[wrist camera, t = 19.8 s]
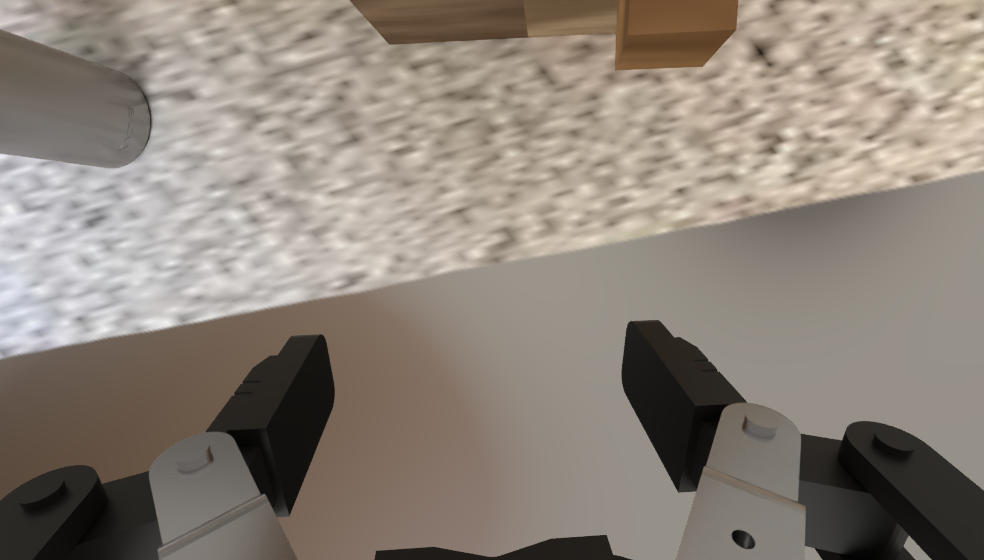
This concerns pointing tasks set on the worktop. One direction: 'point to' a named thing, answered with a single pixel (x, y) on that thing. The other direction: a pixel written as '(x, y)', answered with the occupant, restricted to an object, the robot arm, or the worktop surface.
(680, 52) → the dowel
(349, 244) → the worktop surface
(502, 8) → the box
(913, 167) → the worktop surface
